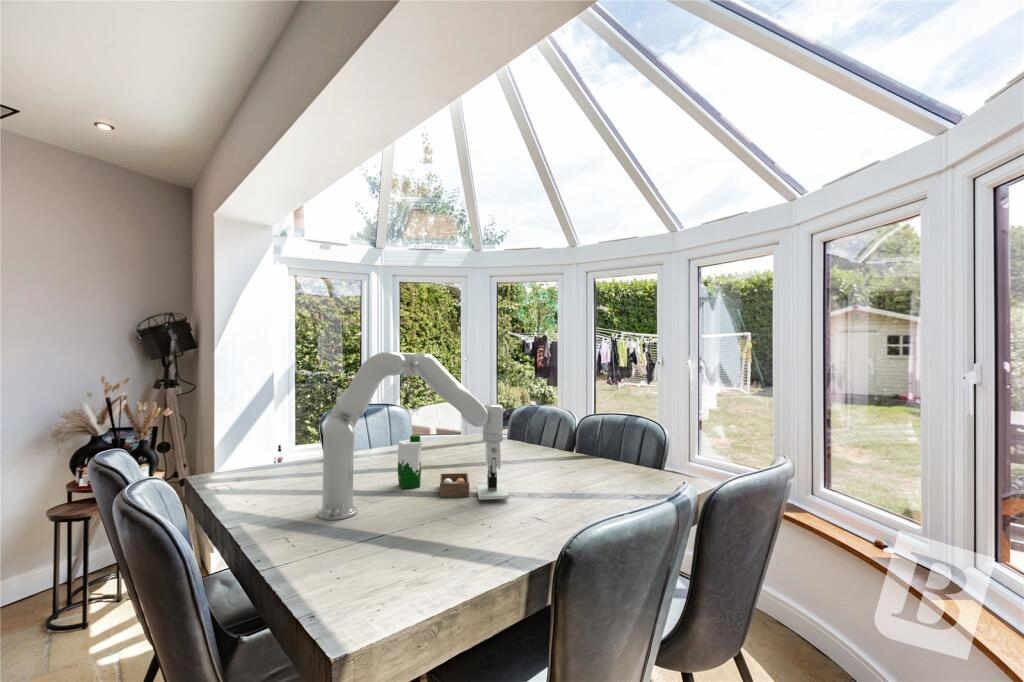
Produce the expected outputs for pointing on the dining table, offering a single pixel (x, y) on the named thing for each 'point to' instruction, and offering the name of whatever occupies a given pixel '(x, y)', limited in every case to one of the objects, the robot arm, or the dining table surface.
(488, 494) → the lid
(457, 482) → the ball terracotta
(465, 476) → the box
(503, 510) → the dining table surface
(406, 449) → the milk carton
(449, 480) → the ball cream
